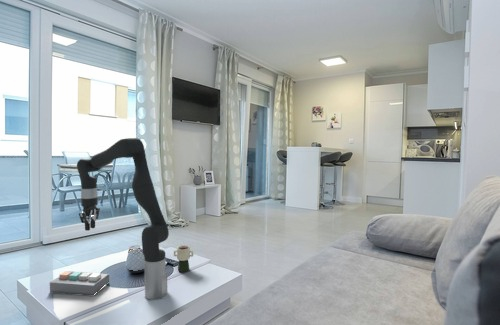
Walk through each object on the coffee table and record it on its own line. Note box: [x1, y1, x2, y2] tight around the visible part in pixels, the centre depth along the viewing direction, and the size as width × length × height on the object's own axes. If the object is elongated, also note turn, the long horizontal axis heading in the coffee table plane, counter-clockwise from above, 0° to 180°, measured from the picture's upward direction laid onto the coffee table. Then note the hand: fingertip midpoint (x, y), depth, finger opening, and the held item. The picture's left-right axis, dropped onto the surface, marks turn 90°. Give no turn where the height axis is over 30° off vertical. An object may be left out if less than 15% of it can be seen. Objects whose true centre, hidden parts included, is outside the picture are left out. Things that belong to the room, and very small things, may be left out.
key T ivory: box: [88, 272, 101, 282], centre depth 140 cm, size 4×4×4 cm
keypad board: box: [49, 271, 110, 296], centre depth 141 cm, size 22×12×5 cm, turn 83°
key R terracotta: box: [58, 271, 73, 280], centre depth 142 cm, size 4×4×4 cm
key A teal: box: [69, 271, 83, 280], centre depth 141 cm, size 4×4×4 cm
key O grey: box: [79, 272, 92, 281], centre depth 141 cm, size 4×4×4 cm
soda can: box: [127, 245, 142, 254], centre depth 164 cm, size 7×7×12 cm
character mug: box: [173, 245, 194, 273], centre depth 162 cm, size 11×7×13 cm, turn 90°
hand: (90, 229), depth 153 cm, fingers open, 3 cm apart
